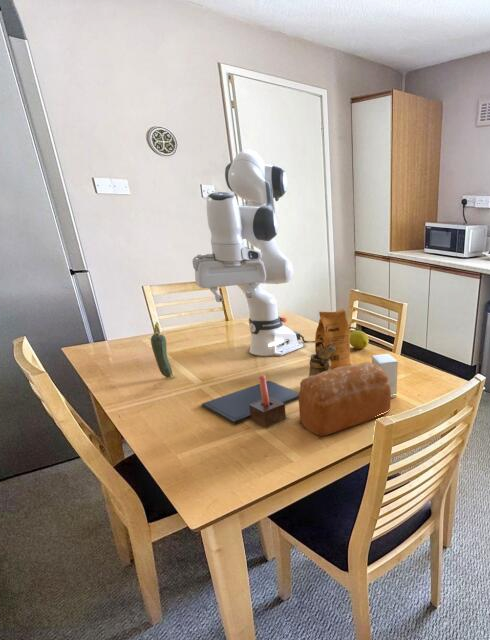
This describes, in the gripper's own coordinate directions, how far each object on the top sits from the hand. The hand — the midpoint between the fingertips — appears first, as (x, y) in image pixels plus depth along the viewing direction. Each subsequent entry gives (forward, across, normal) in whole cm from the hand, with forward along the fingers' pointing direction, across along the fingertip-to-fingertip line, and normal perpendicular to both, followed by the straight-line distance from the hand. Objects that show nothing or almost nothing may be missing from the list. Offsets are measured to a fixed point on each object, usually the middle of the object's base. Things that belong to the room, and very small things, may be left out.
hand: (235, 299), depth 126 cm
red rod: (+30, -5, -25) cm, 39 cm away
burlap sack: (+30, +19, -17) cm, 40 cm away
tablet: (+30, -3, -12) cm, 32 cm away
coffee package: (+31, +35, -1) cm, 46 cm away
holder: (+30, -5, -25) cm, 39 cm away
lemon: (+31, +55, +10) cm, 64 cm away
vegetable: (+30, -18, +23) cm, 42 cm away
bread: (+30, +14, -39) cm, 51 cm away
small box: (+30, +33, -33) cm, 56 cm away
